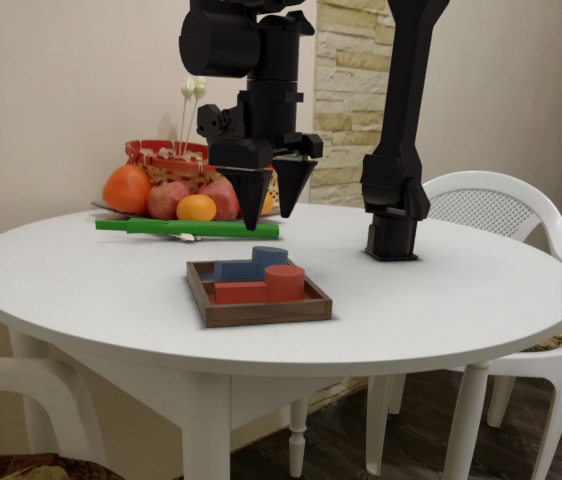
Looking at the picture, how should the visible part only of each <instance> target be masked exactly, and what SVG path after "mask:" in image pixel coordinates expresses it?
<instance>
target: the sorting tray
mask: <svg viewBox="0 0 562 480" xmlns="http://www.w3.org/2000/svg"><path fill="white" fill-rule="evenodd" d="M251 259H252V258H249V259H245V260H251ZM214 263H215V260H196V261H195V260H193V261H186V262H185V267H186V268H185V269H186V279H187V282H188V284H189V287H190V289H191V292H192V295H193V297H194V300H195V303H196V305H197V307H198V311H199V313H200V315H201V316H200V317H201V318H202V321H203V323H204V326H205V328H219V327H235V326H250V325H262V324H264V325H265V324H276V323H277V324H278V323H292V322H306V321H321V320H332V317H333V316H332V314H333V303H334V300H333V299H332V298H331V297H330V296H329V295H328V294H327V293H326V292H325V291H323V289H322V288H320V287H319V286H318V285H317V284H316V283H315V282H314V281H313V280H312V279H311V278H310V277H309V276H308V275H307V274H306V273H305V279H304V297H303V300H293V301H275V302H255V303H232V304H216V302H215V296H214V283H233V282H262V281H264V278H246V279H218V278H216V277H214ZM287 265H293V266H297V264H295V262H293V261H292V260H291V259H290V258H289V257H288V259H287Z"/></svg>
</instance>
